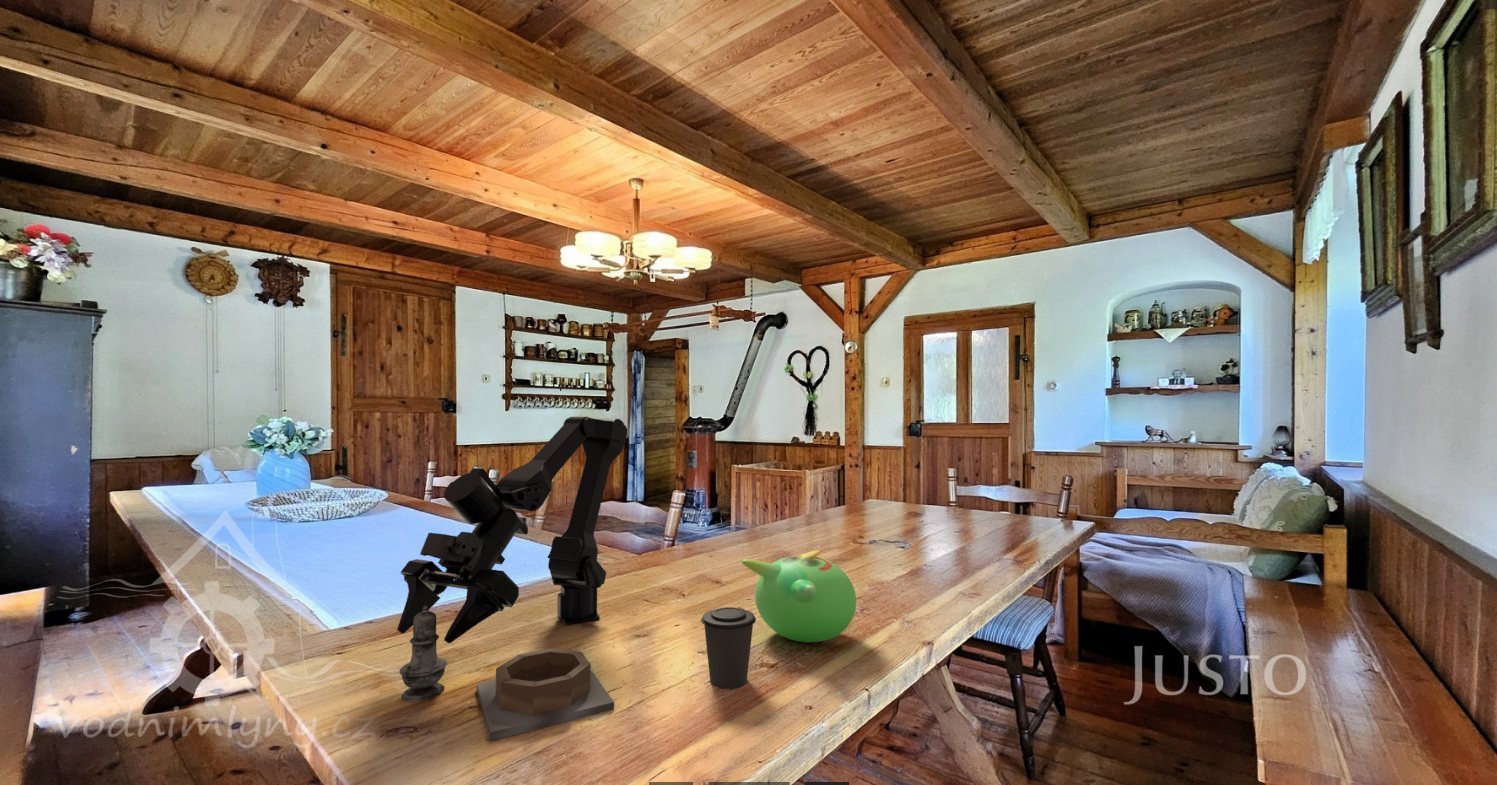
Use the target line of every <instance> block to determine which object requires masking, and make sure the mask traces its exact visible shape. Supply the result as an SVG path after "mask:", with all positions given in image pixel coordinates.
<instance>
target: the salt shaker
mask: <svg viewBox="0 0 1497 785" xmlns="http://www.w3.org/2000/svg"><path fill="white" fill-rule="evenodd" d="M427 609H428V607H427V606H426V605H425V606H424V608H423V611H422V612H421V613H418V614H417V615H416V616H415V617H414V620H413V626H412V630H413V631H412V638H410V640H409V643H410V644H412V645H411V650H412V651H411V657H410V661H409V662H408V663H406V664H404V665H403V666H402V667H401V668H400V669H399V672H398V674H400V675H401V679H402V681H403V683H404V685H405V686H406V687H408V688H407V689H406V690H405V691H403V693H402V694H401V697H400V698H401V700H403V701H404V702H409V703H411V702H412V703H415V702H423V701H428V700H431V699H434V698H436V697H438V696H439V695H441V694H442V693H444V691H445V685H443V684H442V683H439V681H440V680H441V679H442V678H443V676H444V674H445V671H446V667H447V666H448V661H447V659H444V658H441V657H439V656H438V652H437V640H439V638H440V635H439V634H437V614H436V613H435V612H433V611H431V610H427Z"/></svg>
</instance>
